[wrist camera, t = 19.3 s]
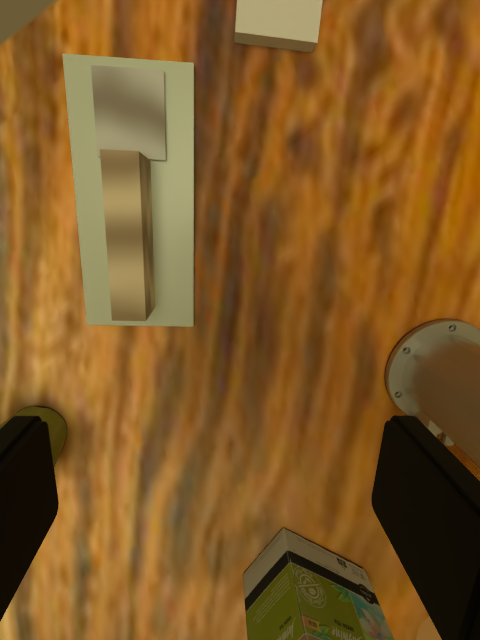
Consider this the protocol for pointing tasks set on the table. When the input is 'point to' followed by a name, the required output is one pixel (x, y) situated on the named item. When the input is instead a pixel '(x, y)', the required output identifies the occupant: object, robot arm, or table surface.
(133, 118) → the turner
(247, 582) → the tea box
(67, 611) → the table surface
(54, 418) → the plant pot
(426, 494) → the robot arm
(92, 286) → the board
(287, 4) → the tile
